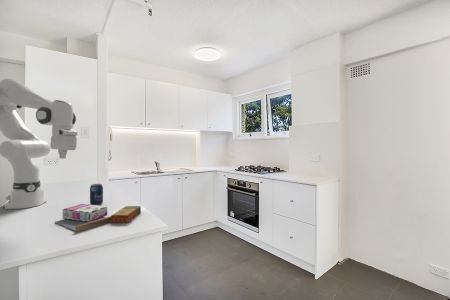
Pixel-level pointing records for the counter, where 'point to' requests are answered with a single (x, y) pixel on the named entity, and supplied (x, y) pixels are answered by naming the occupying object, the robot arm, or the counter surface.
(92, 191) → the soda can
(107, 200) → the counter surface
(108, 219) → the stop rail
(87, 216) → the candy bar box
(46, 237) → the counter surface
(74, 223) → the mat
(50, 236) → the counter surface
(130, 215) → the carton
